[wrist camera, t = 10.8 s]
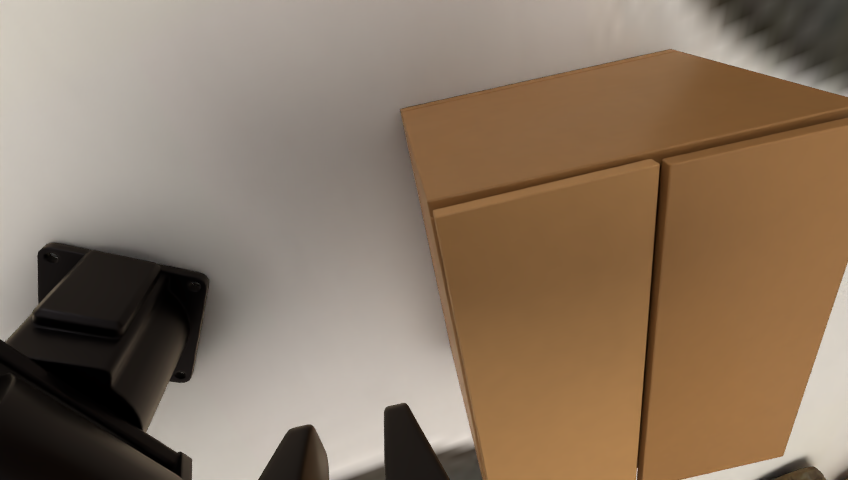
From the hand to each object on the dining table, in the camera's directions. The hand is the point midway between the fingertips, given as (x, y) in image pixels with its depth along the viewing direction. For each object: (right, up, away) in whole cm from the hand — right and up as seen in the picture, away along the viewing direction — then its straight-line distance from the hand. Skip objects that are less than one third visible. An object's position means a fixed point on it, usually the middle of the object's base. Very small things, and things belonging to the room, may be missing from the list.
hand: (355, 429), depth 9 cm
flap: (+5, -1, +6) cm, 8 cm away
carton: (+7, +4, +14) cm, 16 cm away
